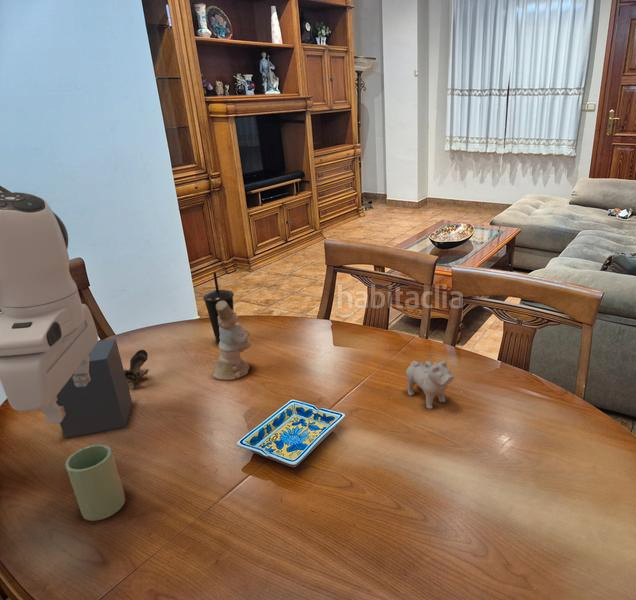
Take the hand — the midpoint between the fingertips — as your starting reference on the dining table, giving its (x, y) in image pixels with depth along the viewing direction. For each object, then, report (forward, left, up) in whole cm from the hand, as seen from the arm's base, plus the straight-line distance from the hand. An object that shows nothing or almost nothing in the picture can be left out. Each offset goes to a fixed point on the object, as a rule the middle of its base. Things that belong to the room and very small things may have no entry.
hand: (71, 401), depth 74 cm
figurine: (+20, +40, -22) cm, 50 cm away
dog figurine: (+61, +14, -22) cm, 66 cm away
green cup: (-1, +2, -22) cm, 22 cm away
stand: (-7, +29, -22) cm, 37 cm away
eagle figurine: (-2, +44, -22) cm, 50 cm away
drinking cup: (+18, +58, -22) cm, 65 cm away
